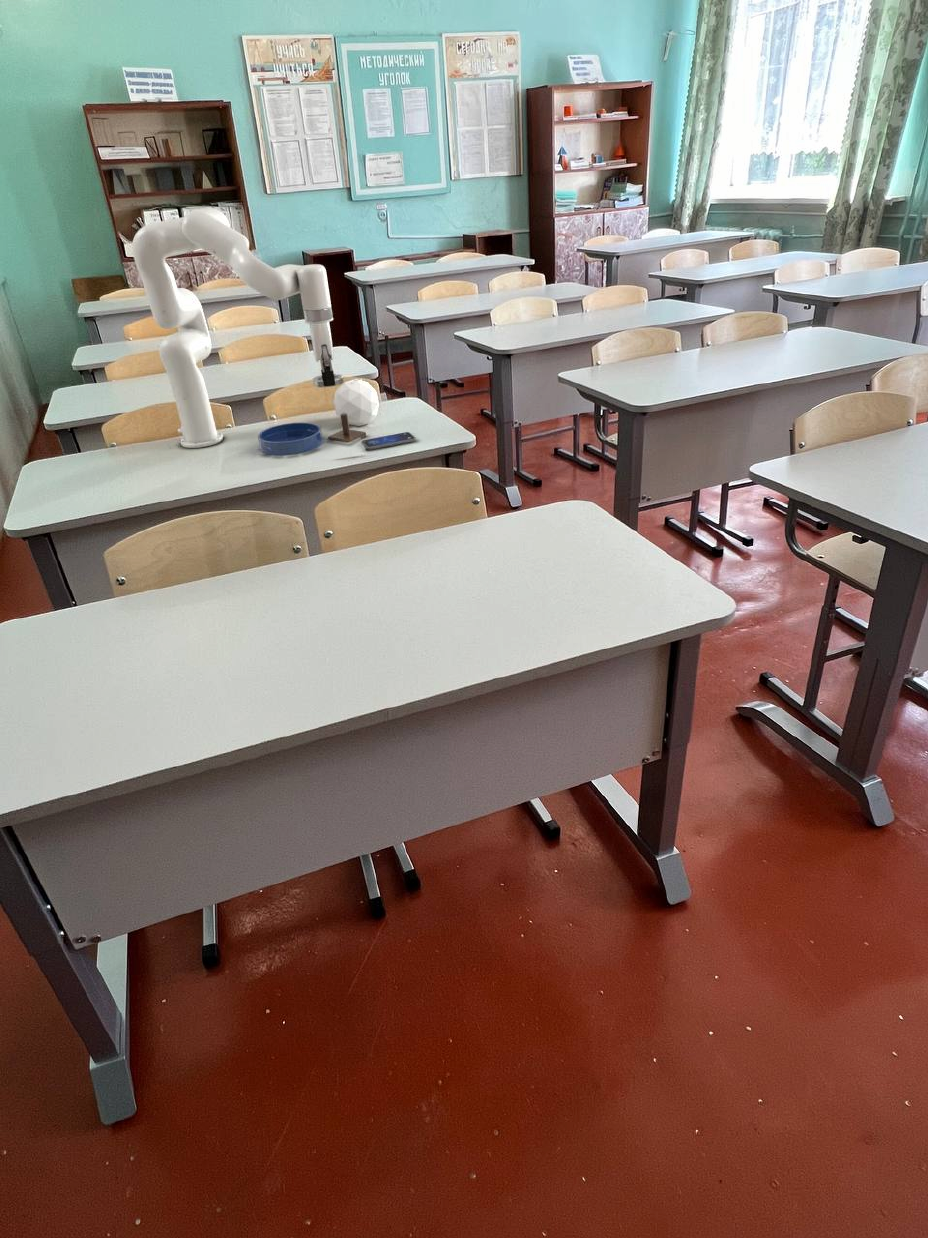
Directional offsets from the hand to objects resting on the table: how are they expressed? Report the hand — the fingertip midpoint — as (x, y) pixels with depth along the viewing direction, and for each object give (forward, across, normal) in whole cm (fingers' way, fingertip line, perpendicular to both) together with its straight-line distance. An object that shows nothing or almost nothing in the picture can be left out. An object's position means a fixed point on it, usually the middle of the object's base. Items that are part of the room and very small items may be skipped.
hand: (329, 384), depth 213 cm
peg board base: (+17, -3, +3) cm, 18 cm away
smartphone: (+17, +5, +14) cm, 23 cm away
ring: (+1, -3, 0) cm, 3 cm away
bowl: (+17, -3, -13) cm, 22 cm away
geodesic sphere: (+18, -17, +8) cm, 25 cm away
